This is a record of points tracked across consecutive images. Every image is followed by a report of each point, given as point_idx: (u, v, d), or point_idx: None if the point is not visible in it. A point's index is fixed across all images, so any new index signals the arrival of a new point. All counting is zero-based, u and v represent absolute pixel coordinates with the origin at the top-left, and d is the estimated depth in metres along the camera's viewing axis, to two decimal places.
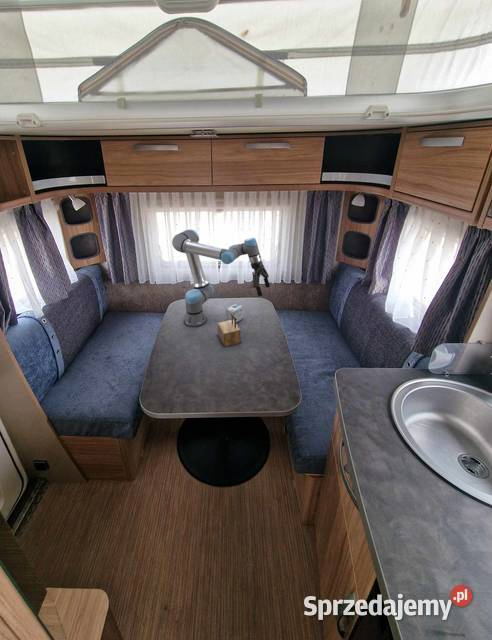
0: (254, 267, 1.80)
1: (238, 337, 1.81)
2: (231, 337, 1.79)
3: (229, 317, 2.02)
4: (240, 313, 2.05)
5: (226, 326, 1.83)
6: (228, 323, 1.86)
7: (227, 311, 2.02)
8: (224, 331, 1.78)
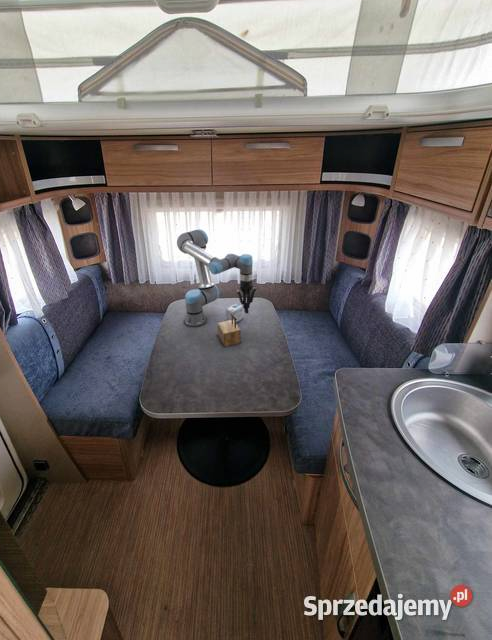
0: (240, 284, 1.74)
1: (238, 337, 1.81)
2: (231, 337, 1.79)
3: (229, 317, 2.02)
4: (240, 313, 2.05)
5: (226, 326, 1.83)
6: (228, 323, 1.86)
7: (227, 311, 2.02)
8: (224, 331, 1.78)
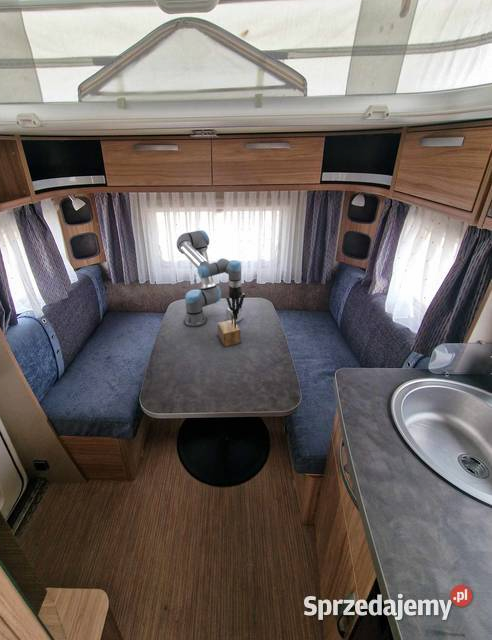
0: (229, 290, 1.73)
1: (238, 337, 1.81)
2: (231, 337, 1.79)
3: (229, 317, 2.02)
4: (240, 313, 2.05)
5: (226, 326, 1.83)
6: (228, 323, 1.86)
7: (227, 311, 2.02)
8: (224, 331, 1.78)
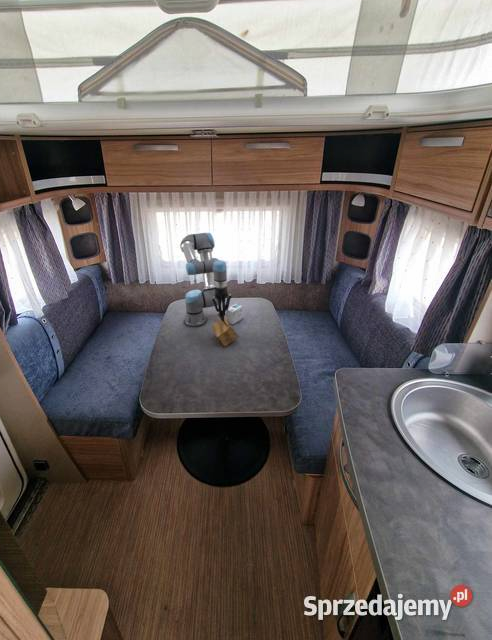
0: (215, 291, 1.70)
1: (233, 333, 1.78)
2: (226, 336, 1.77)
3: (229, 317, 2.02)
4: (240, 313, 2.05)
5: (218, 327, 1.81)
6: (220, 323, 1.84)
7: (227, 311, 2.02)
8: (217, 334, 1.77)
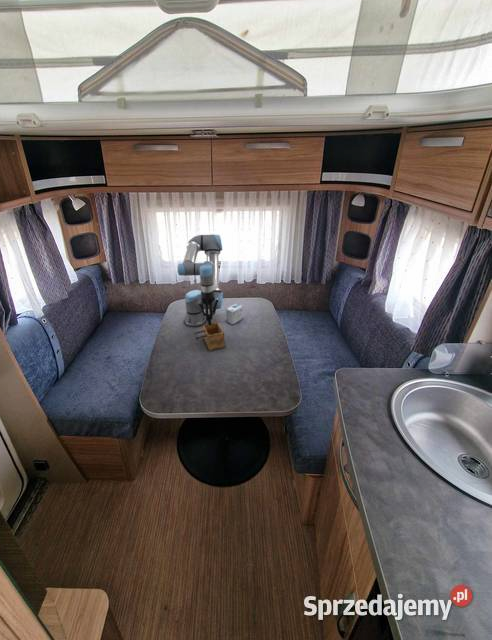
0: (201, 295, 1.68)
1: (217, 336, 1.75)
2: (215, 342, 1.76)
3: (229, 317, 2.02)
4: (240, 313, 2.05)
5: (206, 338, 1.81)
6: (204, 333, 1.83)
7: (227, 311, 2.02)
8: (208, 347, 1.79)
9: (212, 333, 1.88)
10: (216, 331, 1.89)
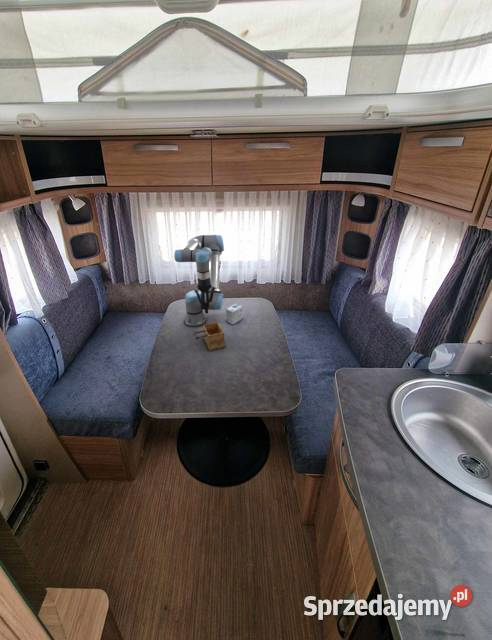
0: None
1: (217, 336, 1.75)
2: (215, 342, 1.76)
3: (229, 317, 2.02)
4: (240, 313, 2.05)
5: (206, 338, 1.81)
6: (204, 333, 1.83)
7: (227, 311, 2.02)
8: (208, 347, 1.79)
9: (212, 333, 1.88)
10: (216, 331, 1.89)
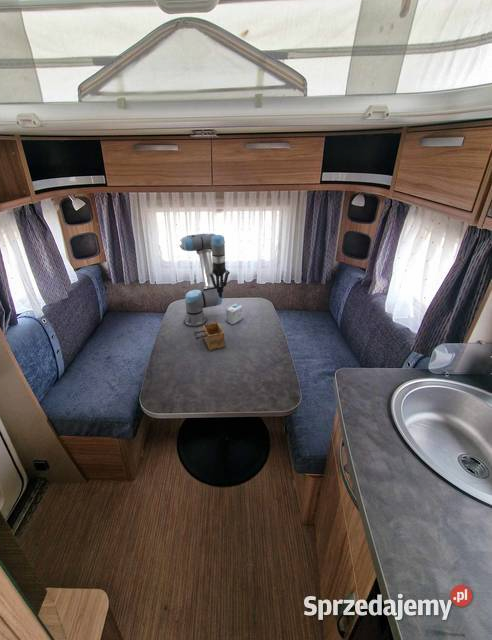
0: (213, 266, 1.68)
1: (217, 336, 1.75)
2: (215, 342, 1.76)
3: (229, 317, 2.02)
4: (240, 313, 2.05)
5: (206, 338, 1.81)
6: (204, 333, 1.83)
7: (227, 311, 2.02)
8: (208, 347, 1.79)
9: (212, 333, 1.88)
10: (216, 331, 1.89)
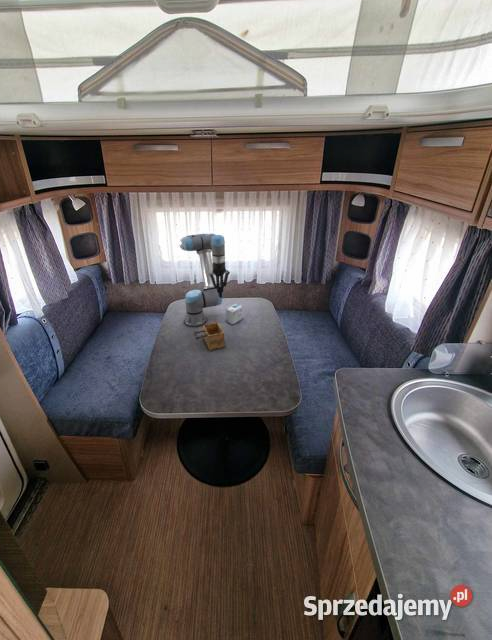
0: (213, 266, 1.68)
1: (217, 336, 1.75)
2: (215, 342, 1.76)
3: (229, 317, 2.02)
4: (240, 313, 2.05)
5: (206, 338, 1.81)
6: (204, 333, 1.83)
7: (227, 311, 2.02)
8: (208, 347, 1.79)
9: (212, 333, 1.88)
10: (216, 331, 1.89)
